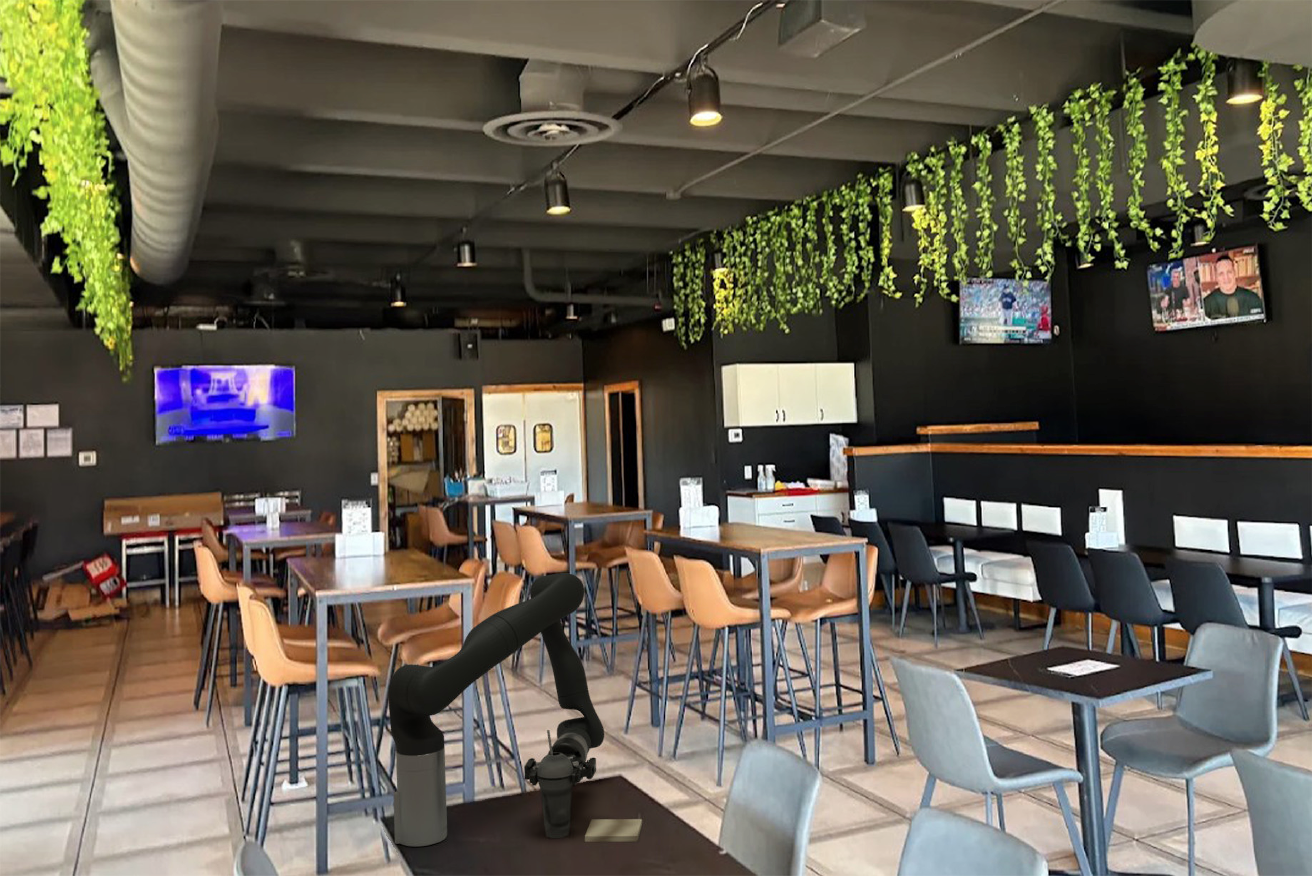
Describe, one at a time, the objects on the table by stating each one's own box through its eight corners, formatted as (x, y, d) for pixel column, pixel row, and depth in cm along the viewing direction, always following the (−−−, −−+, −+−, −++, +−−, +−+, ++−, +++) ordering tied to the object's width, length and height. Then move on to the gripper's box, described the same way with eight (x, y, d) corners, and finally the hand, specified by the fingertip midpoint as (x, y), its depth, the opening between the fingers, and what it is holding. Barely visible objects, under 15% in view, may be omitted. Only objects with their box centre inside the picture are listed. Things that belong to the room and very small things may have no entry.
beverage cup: (570, 842, 193) (566, 735, 194) (533, 840, 195) (530, 735, 195) (580, 828, 200) (577, 725, 201) (545, 826, 202) (541, 725, 202)
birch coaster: (584, 841, 193) (584, 836, 193) (591, 824, 202) (591, 819, 202) (637, 841, 192) (637, 836, 192) (642, 824, 201) (641, 819, 201)
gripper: (533, 737, 213) (516, 761, 196) (601, 736, 211) (590, 760, 195) (534, 773, 212) (517, 800, 196) (602, 773, 211) (591, 799, 195)
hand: (553, 780), depth 196 cm, fingers closed on beverage cup, 7 cm apart
